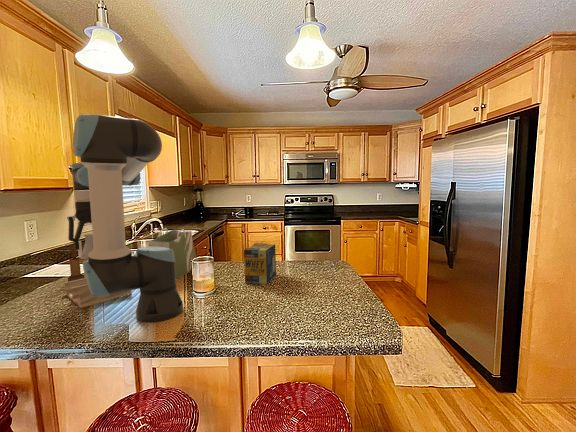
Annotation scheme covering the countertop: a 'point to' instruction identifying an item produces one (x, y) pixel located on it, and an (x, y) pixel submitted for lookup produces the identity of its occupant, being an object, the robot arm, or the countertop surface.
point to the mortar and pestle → (74, 265)
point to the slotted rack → (86, 293)
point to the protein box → (259, 263)
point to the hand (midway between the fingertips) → (91, 255)
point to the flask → (87, 245)
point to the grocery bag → (177, 248)
